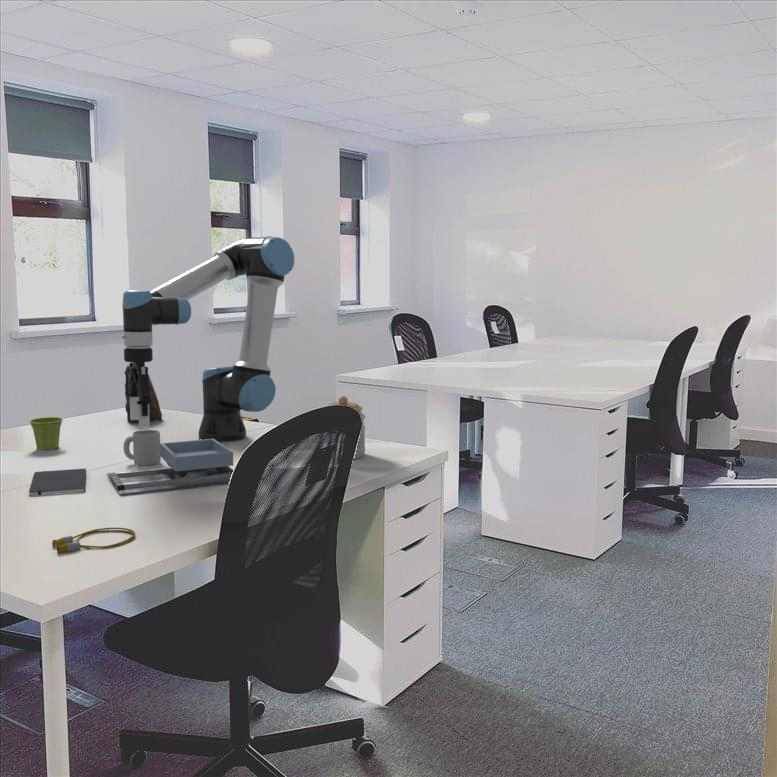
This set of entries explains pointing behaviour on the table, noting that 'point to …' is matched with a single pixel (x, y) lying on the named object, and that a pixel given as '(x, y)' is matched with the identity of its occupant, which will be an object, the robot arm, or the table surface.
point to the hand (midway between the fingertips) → (139, 423)
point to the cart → (196, 455)
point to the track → (166, 480)
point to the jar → (361, 442)
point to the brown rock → (153, 405)
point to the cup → (144, 447)
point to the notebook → (58, 481)
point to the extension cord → (66, 546)
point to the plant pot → (46, 432)
